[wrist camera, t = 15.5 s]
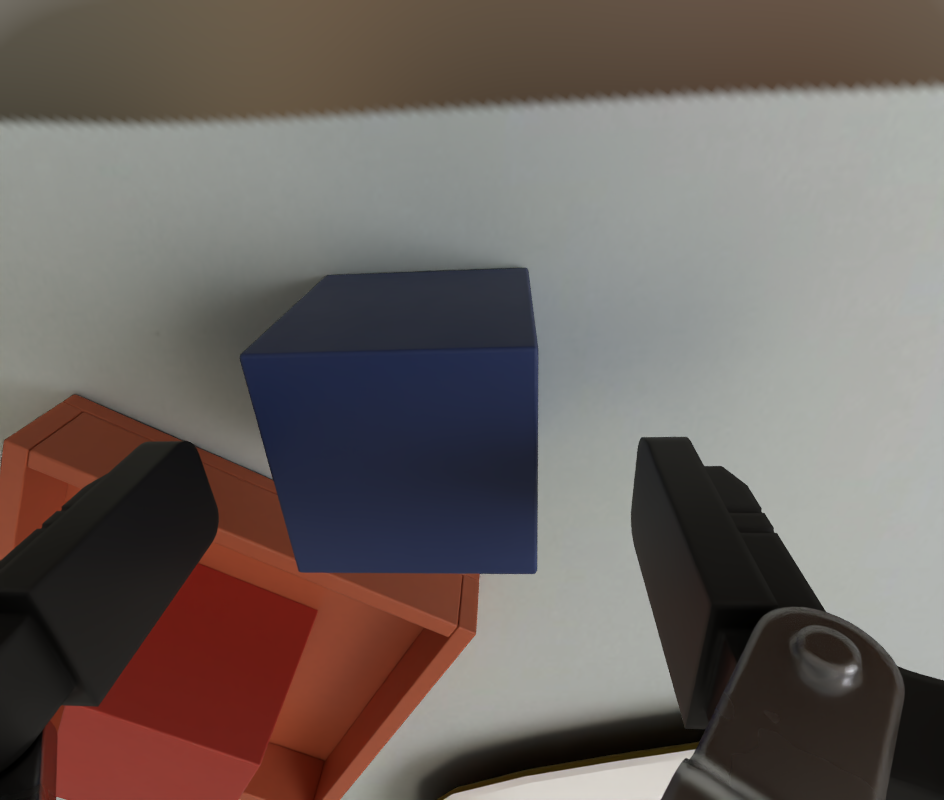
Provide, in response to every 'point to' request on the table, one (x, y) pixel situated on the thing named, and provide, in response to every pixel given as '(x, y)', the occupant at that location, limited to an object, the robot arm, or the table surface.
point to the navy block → (404, 422)
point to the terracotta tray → (274, 569)
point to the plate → (586, 778)
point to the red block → (189, 699)
